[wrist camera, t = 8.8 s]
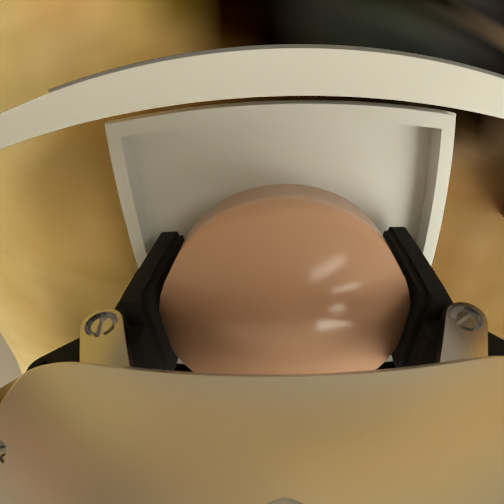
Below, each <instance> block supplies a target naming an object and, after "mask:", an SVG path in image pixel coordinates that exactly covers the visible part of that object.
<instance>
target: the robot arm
mask: <svg viewBox="0 0 504 504" xmlns="http://www.w3.org/2000/svg"><path fill="white" fill-rule="evenodd" d="M383 237H384V239H385V241H386V243H387V245H388V246H389V248H390V250H391V252H392V254H393V256H394V258H395V260H396V261H397V263H398V265H399V267H400V269H401V271H402V273H403V275H404V277H405V279H406V282H407V286H408V289H409V295H410V311H409V314H408V317H407V320H406V323H405V326H404V329H403V332H402V335H401V338H400V341H399V344H398V346H397V348H396V349H395V350H394V352H393V353H392V354H391V355H392V359H393V362H394V366H395V368H390V369H379V370H367V371H354V372H338V373H317V374H222V373H200V372H184V371H174V370H175V368H176V364H177V361H178V356H177V355H176V354H175V353H174V351H173V350H172V348H171V346H170V343H169V340H168V337H167V334H166V331H165V329H164V326H163V323H162V320H161V317H160V313H159V304H160V296H161V292H162V289H163V285H164V282H165V280H166V278H167V276H168V274H169V272H170V270H171V267H172V265H173V263H174V261H175V259H176V257H177V255H178V253H179V251H180V249H181V247H182V245H183V243H184V241H185V240H184V237H183V235H179V233H178V232H177V231H175V232H162V233H161V234H160V236H159V237H158V239H157V240H156V242H155V243H154V245H153V247H152V248H151V250H150V251H149V253H148V255H147V256H146V258H145V260H144V261H143V263H142V264H141V266H140V268H139V269H138V270H137V272H136V274H135V275H134V277H133V279H132V280H131V282H130V284H129V285H128V287H127V289H126V291H125V292H124V294H123V296H122V297H121V299H120V301H119V303H118V304H117V306H116V308H115V309H110V308H106V309H100V310H97V311H95V312H93V313H91V314H90V315H88V316H87V317H86V318H85V319H84V321H83V322H82V324H81V327H80V338H78V339H76V340H74V341H72V342H70V343H68V344H66V345H64V346H62V347H60V348H58V349H57V350H55V351H53V352H51V353H49V354H47V355H45V356H43V357H41V358H39V359H37V360H36V361H34V362H33V363H32V364H31V365H30V366H29V367H28V369H27V371H26V372H25V373H24V374H23V375H21V376H20V377H19V378H17V379H15V380H14V381H12V382H10V383H9V384H7V385H5V386H3V387H2V388H0V504H504V340H503V339H501V338H499V337H497V336H495V335H493V334H491V333H489V332H488V326H487V319H486V317H485V315H484V313H483V312H482V311H481V310H480V309H478V308H477V307H475V306H474V305H471V304H468V303H463V302H459V303H454V304H453V302H452V300H451V298H450V297H449V295H448V293H447V292H446V290H445V288H444V286H443V285H442V283H441V281H440V280H439V278H438V277H437V275H436V273H435V272H434V270H433V269H432V267H431V265H430V264H429V262H428V261H427V259H426V258H425V256H424V254H423V253H422V251H421V250H420V248H419V247H418V245H417V244H416V242H415V241H414V239H413V238H412V236H411V235H410V234H409V232H408V231H407V229H406V228H405V227H389V229H388V231H384V233H383Z"/></svg>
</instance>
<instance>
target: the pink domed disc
mask: <svg viewBox="0 0 504 504" xmlns="http://www.w3.org/2000/svg"><path fill="white" fill-rule="evenodd" d="M409 311H410V295H409V289H408V286H407V282H406V279H405V277H404V275H403V273H402V271H401V269H400V267H399V265H398V263H397V261H396V260H395V258H394V256H393V254H392V252H391V250H390V248H389V246H388V245H387V243H386V241H385V239H384V237H383V235H382V234H381V232H380V230H379V228H378V227H377V226H376V224H375V223H374V222H373V221H372V219H371V218H370V217H369V216H368V215H367V214H366V213H365V212H364V211H362V210H361V209H360V208H359V207H358V206H356V205H355V204H353V203H352V202H350V201H349V200H347V199H345V198H343V197H341V196H339V195H337V194H335V193H333V192H330V191H327V190H324V189H320V188H317V187H312V186H306V185H300V184H275V185H265V186H260V187H256V188H252V189H248V190H245V191H242V192H240V193H237V194H234V195H232V196H230V197H229V198H227V199H225V200H223V201H221V202H219V203H218V204H217V205H215V206H214V207H212V208H211V209H210V210H208V211H207V212H206V213H205V214H204V215H203V216H202V217H201V218H200V219H199V220H198V221H197V222H196V223H195V225H194V226H193V227H192V229H191V230H190V231H189V233H188V235H187V237H186V239H185V241H184V243H183V245H182V247H181V249H180V251H179V253H178V255H177V257H176V259H175V261H174V263H173V265H172V267H171V270H170V272H169V274H168V276H167V278H166V280H165V282H164V285H163V289H162V292H161V296H160V304H159V313H160V317H161V320H162V323H163V326H164V329H165V331H166V334H167V337H168V340H169V343H170V346H171V348H172V350H173V351H174V353H175V354H176V355H177V356H178V358H179V359H180V360H181V361H182V362H183V363H184V364H185V365H186V366H187V367H188V368H189V369H190V370H192V371H193V372H200V373H222V374H317V373H338V372H354V371H367V370H376V369H377V368H379V367H380V366H381V365H382V364H383V363H384V362H385V361H386V360H387V359H388V358H389V357H390V355H391V354H392V353H393V352H394V350H395V349H396V348H397V346H398V344H399V341H400V338H401V335H402V332H403V329H404V326H405V323H406V320H407V317H408V314H409Z"/></svg>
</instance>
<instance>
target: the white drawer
mask: <svg viewBox="0 0 504 504" xmlns="http://www.w3.org/2000/svg"><path fill="white" fill-rule="evenodd" d="M270 96H343V97H363V98H377V99H389V100H399V101H408V102H416V103H424V104H431V105H438V106H444V107H450V108H456V109H461V110H467V111H472V112H477V113H481V114H486V115H490V116H495V117H499V118H503V119H504V75H500V74H497V73H494V72H491V71H488V70H484V69H481V68H477V67H474V66H470V65H466V64H462V63H458V62H454V61H449V60H445V59H440V58H436V57H431V56H425V55H420V54H414V53H408V52H401V51H394V50H387V49H378V48H369V47H358V46H344V45H322V44H278V45H257V46H242V47H231V48H221V49H213V50H205V51H198V52H191V53H185V54H179V55H173V56H167V57H162V58H157V59H152V60H148V61H143V62H139V63H134V64H130V65H126V66H122V67H118V68H115V69H111V70H107V71H104V72H100V73H97V74H93V75H90V76H87V77H84V78H81V79H78V80H75V81H72V82H69V83H66V84H63V85H60V86H58V87H55V88H52V89H49V93H48V94H45V95H43V96H40V97H38V98H35V99H33V100H30V101H28V102H25V103H23V104H21V105H18V106H16V107H14V108H12V109H10V110H7V111H5V112H3V113H1V114H0V149H2V148H4V147H7V146H10V145H13V144H16V143H18V142H21V141H24V140H27V139H30V138H33V137H36V136H40V135H43V134H46V133H49V132H53V131H56V130H60V129H63V128H67V127H70V126H74V125H78V124H82V123H86V122H90V121H94V120H98V119H103V118H107V117H112V116H116V115H121V114H126V113H131V112H136V111H142V110H147V109H153V108H159V107H166V106H172V105H180V104H187V103H195V102H204V101H213V100H224V99H236V98H250V97H270ZM455 122H456V113H453V112H450V111H445V110H439V109H432V108H424V107H417V106H408V105H399V104H388V103H376V102H361V101H339V100H275V101H253V102H238V103H225V104H214V105H205V106H196V107H188V108H180V109H173V110H166V111H159V112H153V113H147V114H141V115H136V116H131V117H125V118H120V119H115V120H111V121H109V122H106V123H104V126H105V132H106V137H107V143H108V148H109V153H110V158H111V163H112V168H113V173H114V178H115V182H116V187H117V191H118V195H119V199H120V204H121V208H122V212H123V216H124V220H125V224H126V227H127V231H128V235H129V239H130V242H131V246H132V249H133V253H134V256H135V260H136V263H137V267H138V269H139V268H140V266H141V264H142V263H143V261H144V260H145V258H146V256H147V255H148V253H149V251H150V250H151V248H152V247H153V245H154V243H155V242H156V240H157V239H158V237H159V236H160V234H161V233H162V232H175V231H177V232H178V233H179V235H183V237H184V240H185V239H186V237H187V235H188V233H189V231H190V230H191V229H192V227H193V226H194V225H195V223H196V222H197V221H198V220H199V219H200V218H201V217H202V216H203V215H204V214H205V213H206V212H207V211H208V210H210V209H211V208H212V207H214V206H215V205H217V204H218V203H219V202H221V201H223V200H225V199H227V198H229V197H230V196H232V195H234V194H237V193H240V192H242V191H245V190H248V189H252V188H256V187H260V186H265V185H275V184H300V185H306V186H312V187H317V188H320V189H324V190H327V191H330V192H333V193H335V194H337V195H339V196H341V197H343V198H345V199H347V200H349V201H350V202H352V203H353V204H355V205H356V206H358V207H359V208H360V209H361V210H362V211H364V212H365V213H366V214H367V215H368V216H369V217H370V218H371V219H372V221H373V222H374V223H375V224H376V226H377V227H378V228H379V230H380V232H381V234H382V235H383V233H384V231H388V229H389V227H405V228H406V229H407V231H408V232H409V234H410V235H411V236H412V238H413V239H414V241H415V242H416V244H417V245H418V247H419V248H420V250H421V251H422V253H423V254H424V256H425V258H426V259H427V261H428V262H429V264H430V265H431V266H432V262H433V258H434V254H435V250H436V246H437V241H438V237H439V232H440V228H441V223H442V218H443V213H444V208H445V202H446V196H447V190H448V184H449V177H450V170H451V163H452V154H453V145H454V135H455ZM389 361H393V359H392V355H390V357H389V358H388V359H387V360H386V361H385V362H389ZM177 363H179V364H184V363H183V362H182V361H181V360H180V359H179V358H178V361H177Z"/></svg>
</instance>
